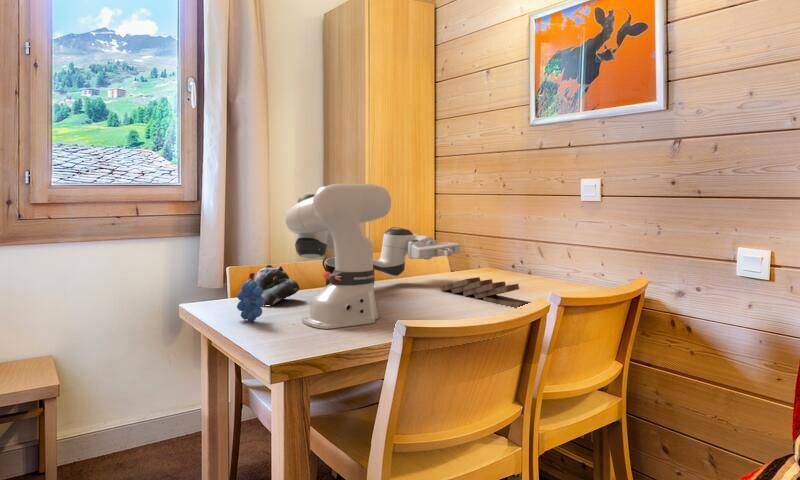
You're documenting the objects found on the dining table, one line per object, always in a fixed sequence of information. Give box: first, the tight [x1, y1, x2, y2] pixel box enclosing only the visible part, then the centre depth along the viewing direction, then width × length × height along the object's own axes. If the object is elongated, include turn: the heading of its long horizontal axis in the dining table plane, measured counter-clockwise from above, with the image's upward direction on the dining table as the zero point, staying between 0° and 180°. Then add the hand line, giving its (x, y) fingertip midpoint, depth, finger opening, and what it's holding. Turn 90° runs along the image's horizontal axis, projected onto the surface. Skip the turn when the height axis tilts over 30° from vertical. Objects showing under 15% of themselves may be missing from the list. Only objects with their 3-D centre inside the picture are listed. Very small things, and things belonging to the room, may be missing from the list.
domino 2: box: [450, 278, 494, 295], centre depth 195 cm, size 6×2×15 cm
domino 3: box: [462, 280, 507, 297], centre depth 190 cm, size 6×2×15 cm
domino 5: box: [482, 294, 532, 309], centre depth 183 cm, size 6×2×15 cm
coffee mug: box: [322, 257, 335, 287], centre depth 207 cm, size 12×9×10 cm
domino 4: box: [473, 283, 520, 300], centre depth 186 cm, size 6×2×15 cm
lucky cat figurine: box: [246, 264, 301, 306], centre depth 185 cm, size 15×12×14 cm
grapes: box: [236, 281, 265, 323], centre depth 159 cm, size 12×7×12 cm, turn 50°
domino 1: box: [440, 276, 481, 292], centre depth 199 cm, size 6×2×15 cm
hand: (450, 253), depth 204 cm, fingers closed
